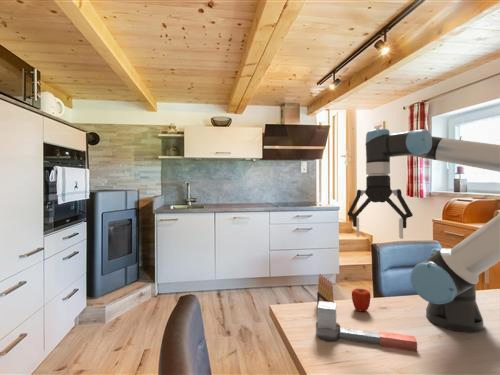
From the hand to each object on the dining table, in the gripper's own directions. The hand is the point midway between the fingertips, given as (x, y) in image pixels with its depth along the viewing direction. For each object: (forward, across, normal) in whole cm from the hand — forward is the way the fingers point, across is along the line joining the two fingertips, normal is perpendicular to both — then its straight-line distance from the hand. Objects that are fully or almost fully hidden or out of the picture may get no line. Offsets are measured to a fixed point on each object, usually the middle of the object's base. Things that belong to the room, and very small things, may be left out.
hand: (379, 237), depth 98 cm
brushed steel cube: (+24, +16, +19) cm, 35 cm away
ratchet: (+27, +6, +19) cm, 34 cm away
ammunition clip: (+27, +18, +2) cm, 32 cm away
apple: (+27, +6, -2) cm, 28 cm away
